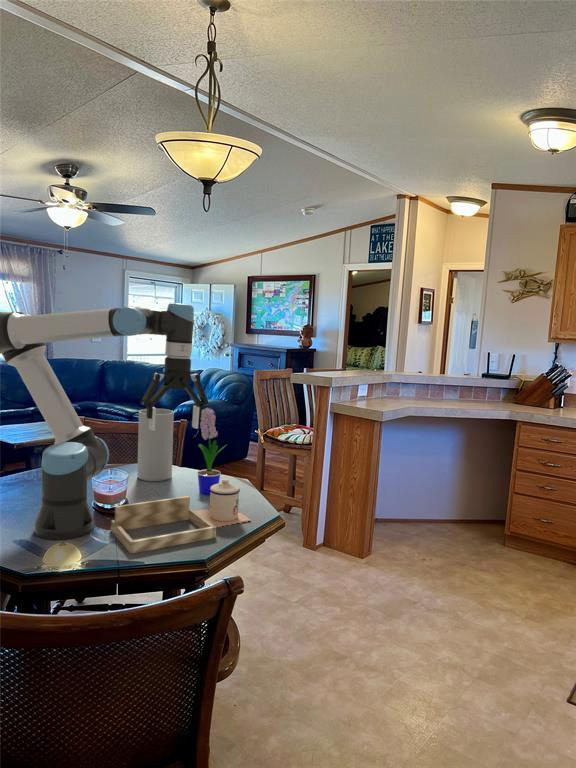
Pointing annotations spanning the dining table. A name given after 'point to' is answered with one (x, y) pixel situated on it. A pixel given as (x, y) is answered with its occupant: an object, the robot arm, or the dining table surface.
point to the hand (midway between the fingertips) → (173, 428)
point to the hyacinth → (208, 453)
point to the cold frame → (155, 515)
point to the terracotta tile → (206, 515)
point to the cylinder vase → (155, 446)
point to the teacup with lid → (224, 501)
